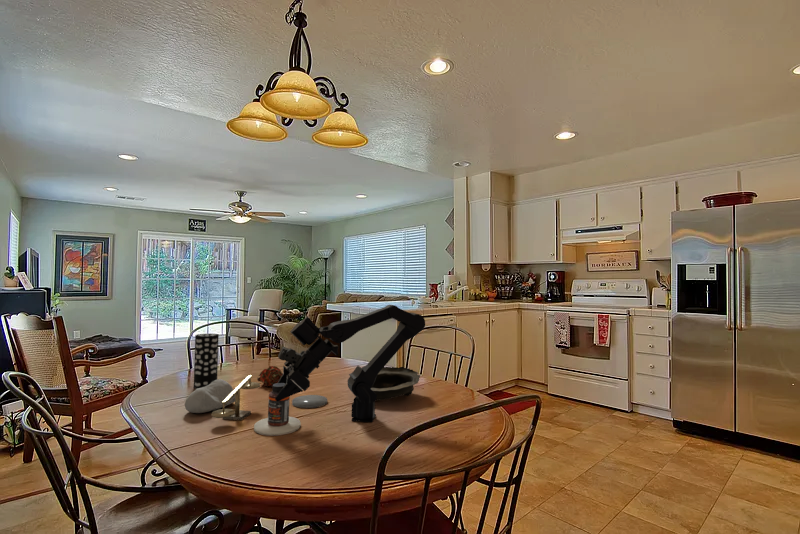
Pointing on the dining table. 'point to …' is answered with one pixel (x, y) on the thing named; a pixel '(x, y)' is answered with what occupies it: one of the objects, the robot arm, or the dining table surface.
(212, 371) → the white-spotted black cylinder
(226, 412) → the balance
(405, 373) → the stone bowl
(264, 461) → the dining table surface
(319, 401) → the slate dish
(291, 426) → the cream dish
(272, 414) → the supplement bottle
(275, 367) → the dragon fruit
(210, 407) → the decorative stone
